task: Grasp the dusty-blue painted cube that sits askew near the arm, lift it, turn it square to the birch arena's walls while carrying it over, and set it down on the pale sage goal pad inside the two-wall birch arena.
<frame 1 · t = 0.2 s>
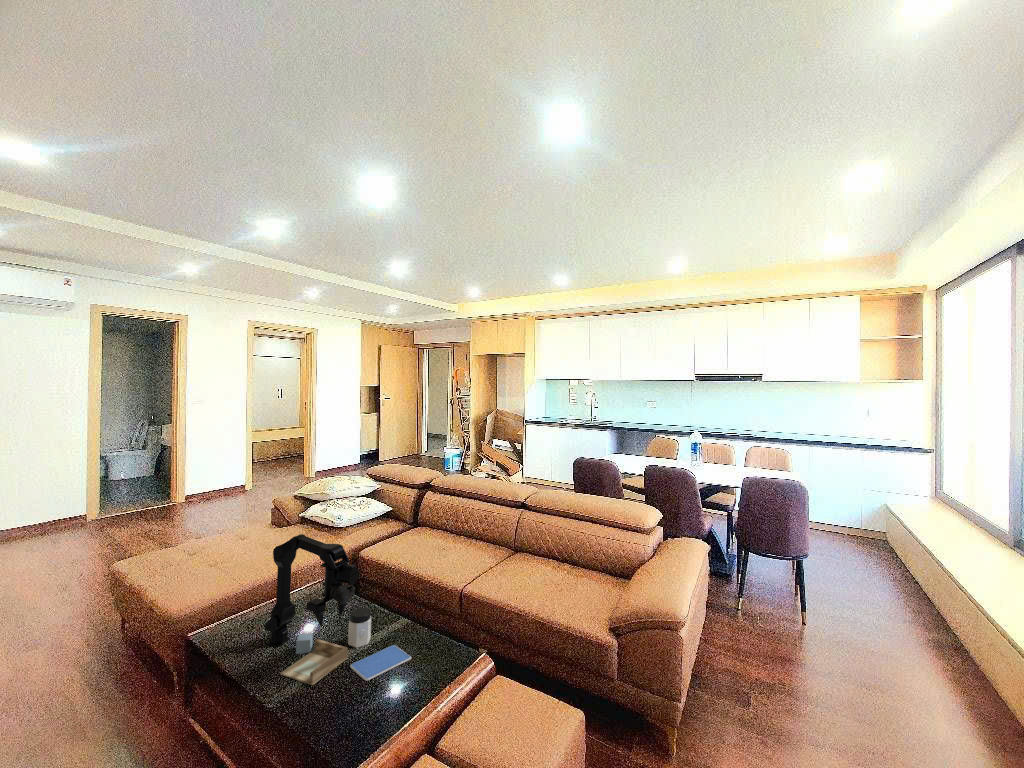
hand: (330, 620, 169), 14 cm above the table, fingers open, 9 cm apart
cube: (304, 649, 173), on the table
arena: (314, 666, 163), on the table
tablet computer: (381, 664, 166), on the table
jar: (359, 642, 179), on the table
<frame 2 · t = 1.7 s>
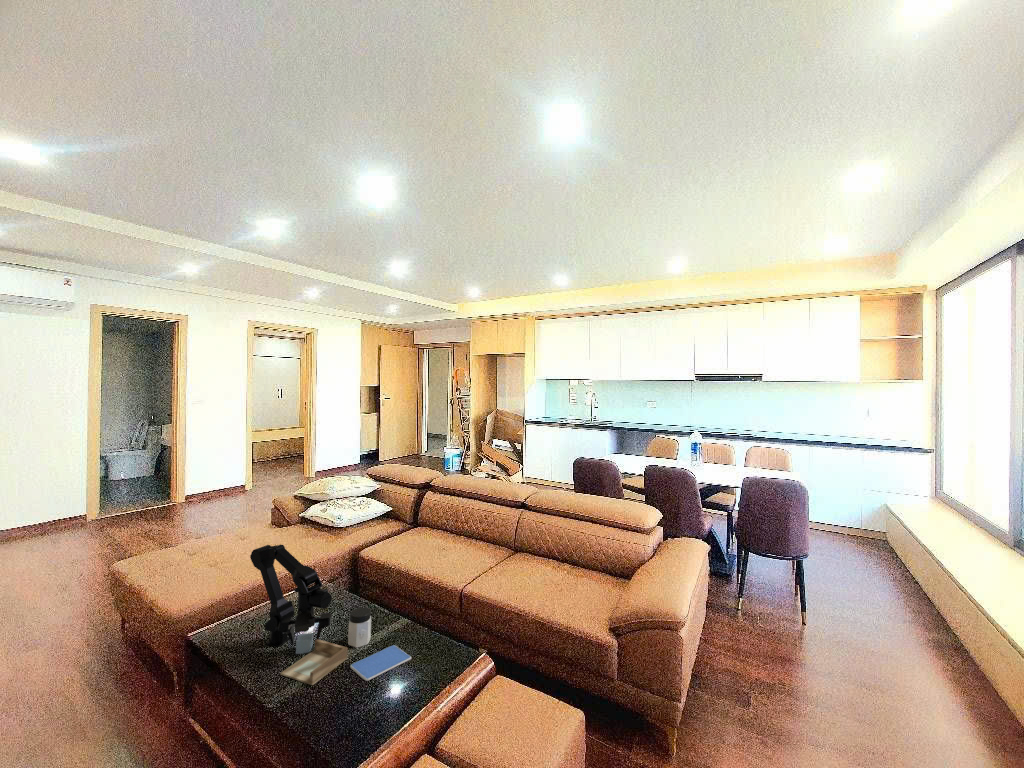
hand: (305, 643, 173), 2 cm above the table, fingers open, 8 cm apart
nothing on the table moved.
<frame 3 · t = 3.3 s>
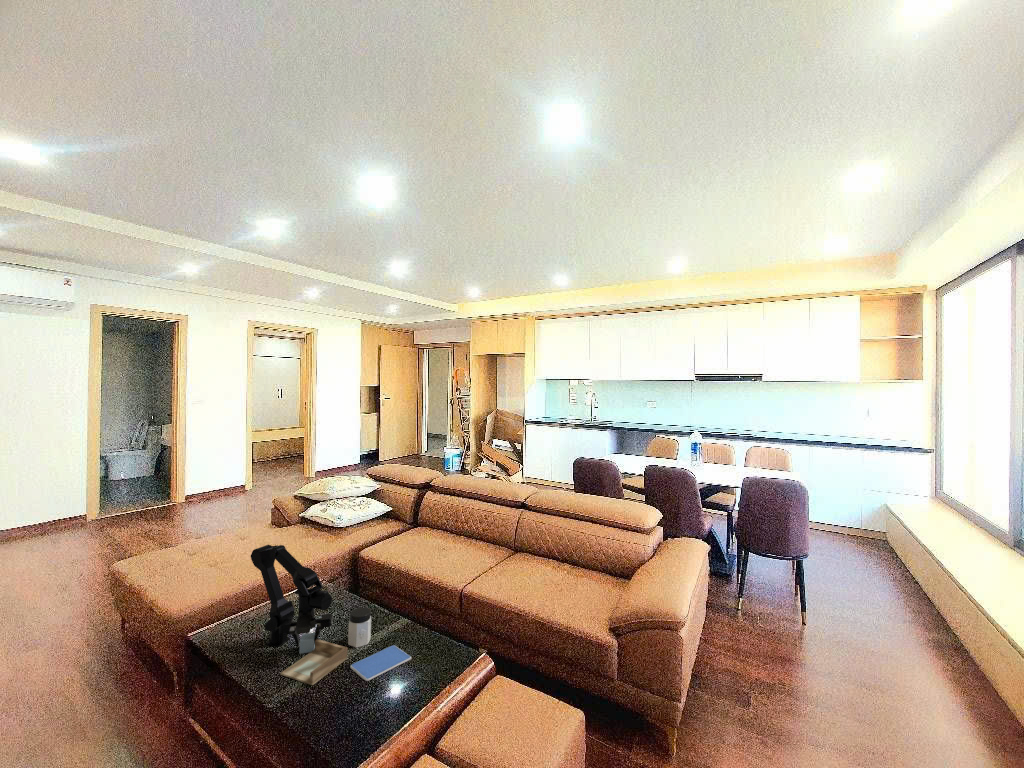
hand: (306, 644, 173), 2 cm above the table, fingers open, 6 cm apart
cube: (307, 649, 173), on the table
everything else where it was.
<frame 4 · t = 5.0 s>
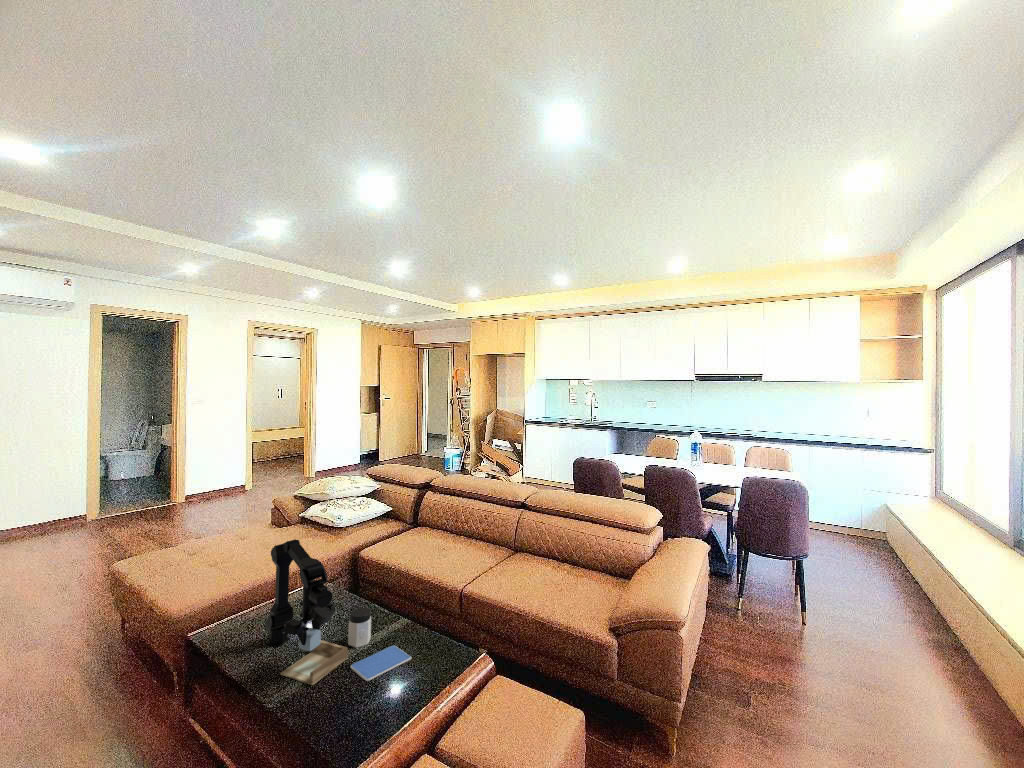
hand: (309, 641, 161), 10 cm above the table, fingers closed on cube, 5 cm apart
cube: (310, 646, 161), point 9 cm above the table, touching gripper
everything else where it was.
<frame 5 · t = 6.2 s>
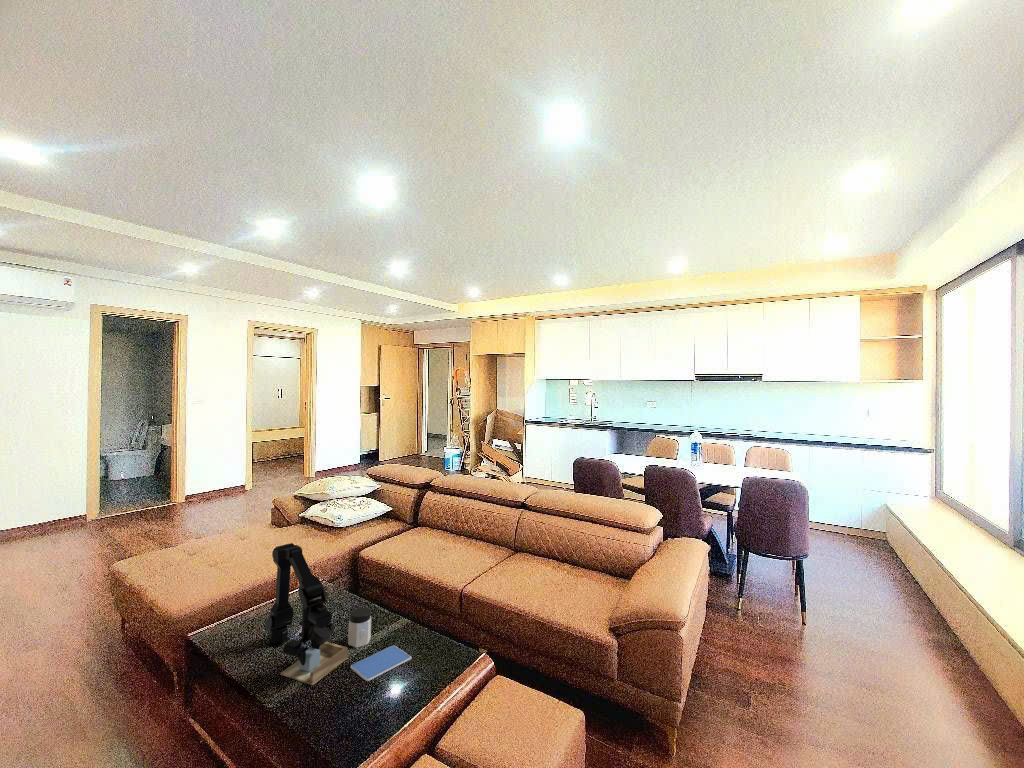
hand: (308, 660, 160), 3 cm above the table, fingers closed on cube, 5 cm apart
cube: (309, 666, 160), point 1 cm above the table, touching gripper
everything else where it was.
when the fingers open (3 cm above the table, at t = 6.7 s): cube stays where it is, resting on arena.
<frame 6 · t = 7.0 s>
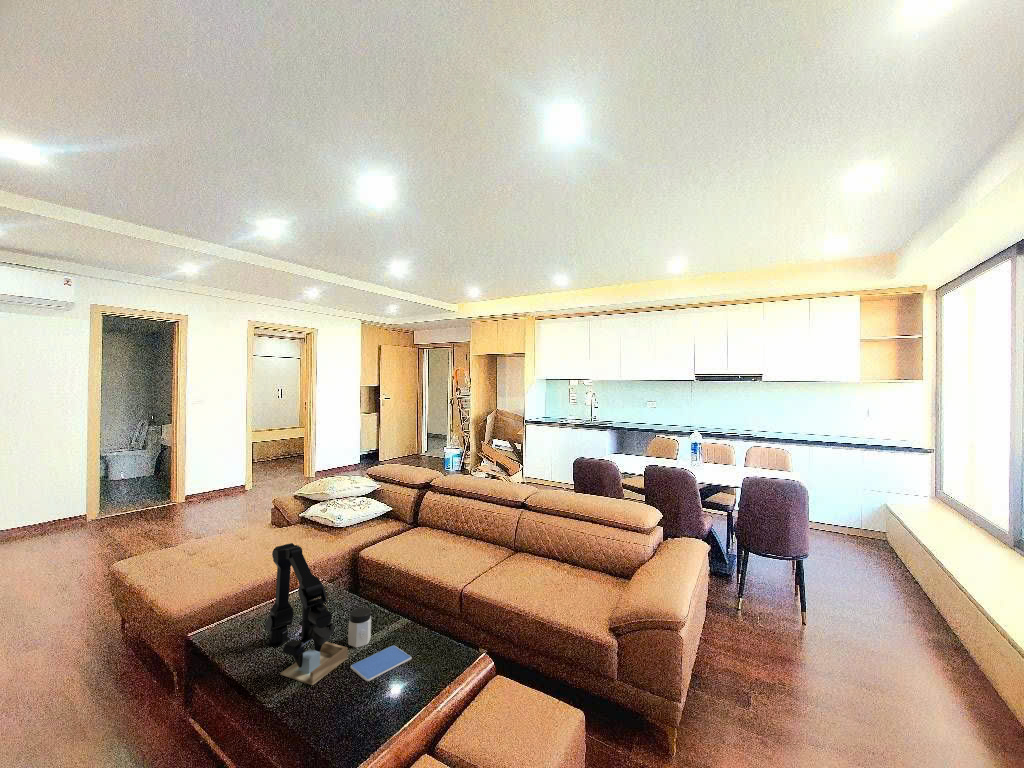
hand: (308, 660, 160), 3 cm above the table, fingers open, 8 cm apart
cube: (309, 667, 160), point 1 cm above the table, touching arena
everything else where it was.
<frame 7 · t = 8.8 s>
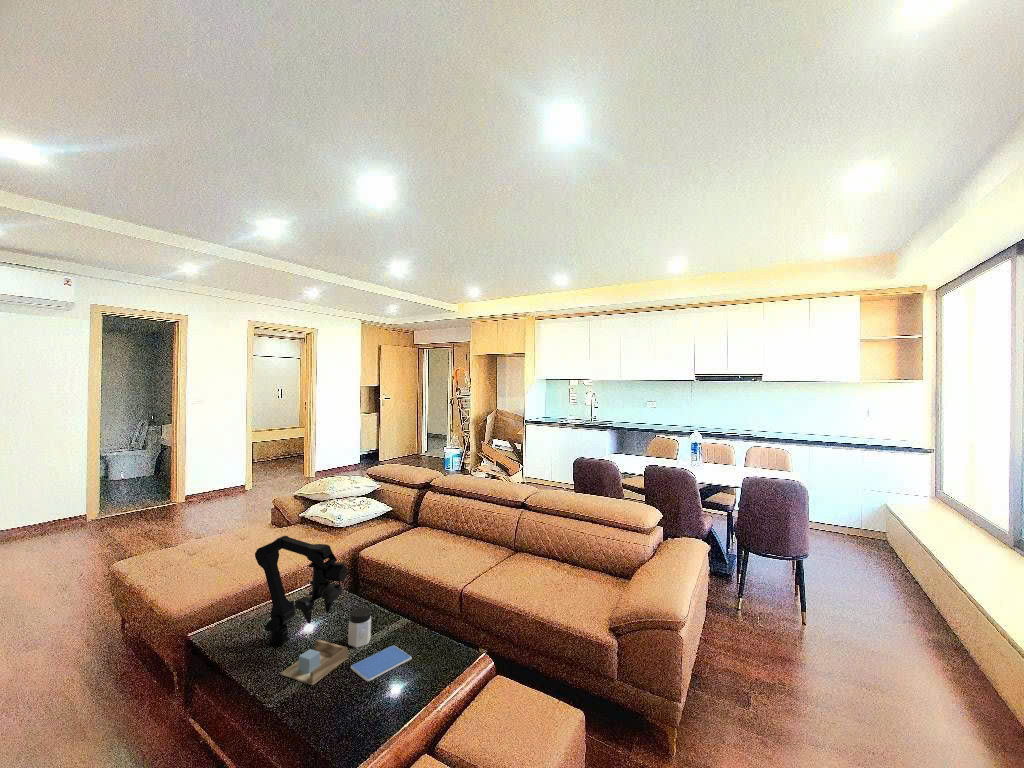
hand: (318, 617, 175), 12 cm above the table, fingers open, 9 cm apart
nothing on the table moved.
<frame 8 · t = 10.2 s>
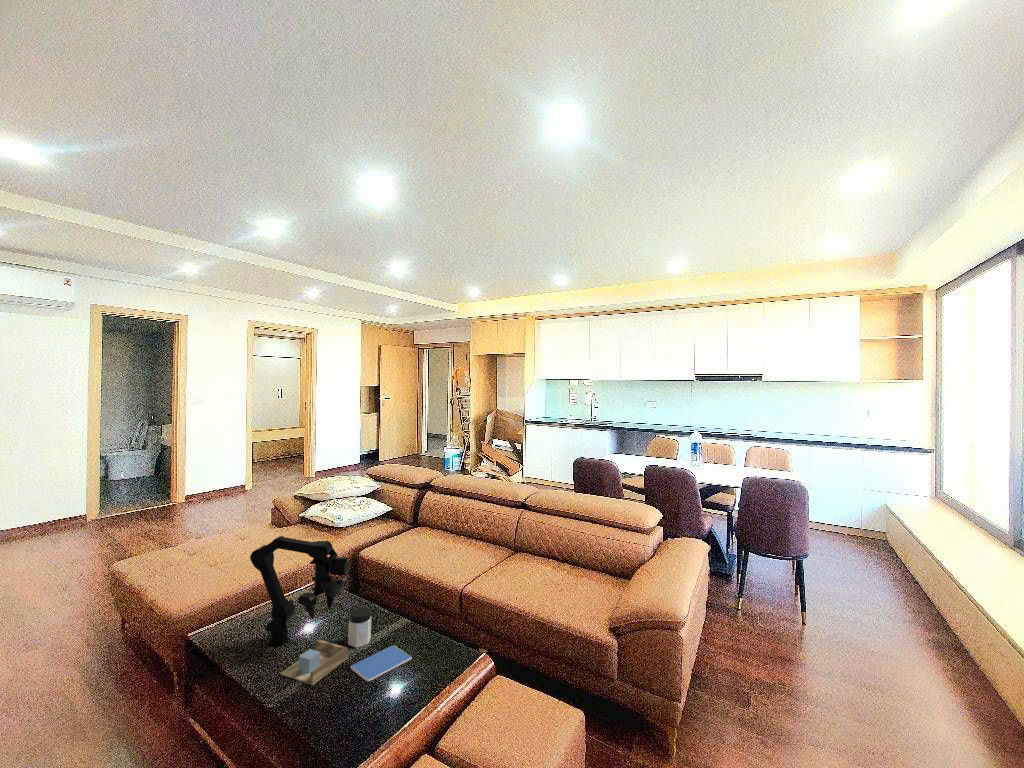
hand: (320, 612, 178), 12 cm above the table, fingers open, 9 cm apart
nothing on the table moved.
at the end: cube 0.2 cm from the target spot on the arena, point 0.7 cm above the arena's base; cube tilted 0°; the gripper is holding nothing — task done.
